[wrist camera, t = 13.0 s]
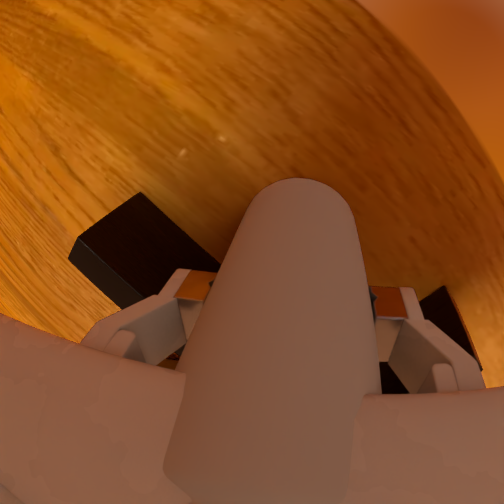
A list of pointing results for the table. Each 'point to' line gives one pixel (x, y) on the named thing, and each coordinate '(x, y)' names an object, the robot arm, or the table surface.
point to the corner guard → (195, 258)
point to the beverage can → (278, 357)
